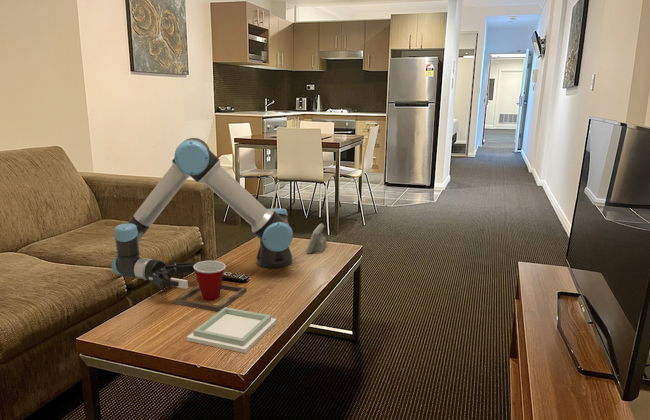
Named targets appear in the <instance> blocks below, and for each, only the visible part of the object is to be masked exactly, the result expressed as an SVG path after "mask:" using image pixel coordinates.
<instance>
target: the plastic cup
mask: <svg viewBox="0 0 650 420" xmlns="http://www.w3.org/2000/svg"><path fill="white" fill-rule="evenodd" d="M197 262H198V263H196V264H195V265H194V266H193V267H194V270H195V271H194V272H195V274H196V279H197V282H198V285H199V287H200V291H199V292H200V294H201V297H202V300H203V301H205V302H209V301H210V302H212V301H216V300H218V299H219V298H220V296H221V291H222V289H221V284H223V275H224V271H225V269H226V267H227V266H226V264H225V263H224V262H222V261H219V260H210V259H209V260H203V261H197Z"/></svg>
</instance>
